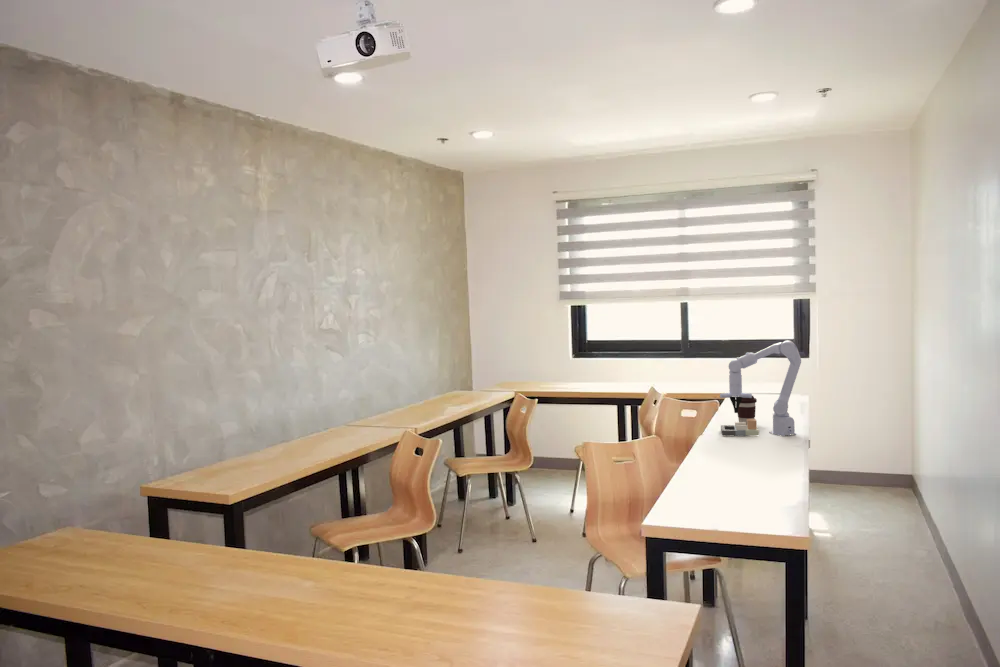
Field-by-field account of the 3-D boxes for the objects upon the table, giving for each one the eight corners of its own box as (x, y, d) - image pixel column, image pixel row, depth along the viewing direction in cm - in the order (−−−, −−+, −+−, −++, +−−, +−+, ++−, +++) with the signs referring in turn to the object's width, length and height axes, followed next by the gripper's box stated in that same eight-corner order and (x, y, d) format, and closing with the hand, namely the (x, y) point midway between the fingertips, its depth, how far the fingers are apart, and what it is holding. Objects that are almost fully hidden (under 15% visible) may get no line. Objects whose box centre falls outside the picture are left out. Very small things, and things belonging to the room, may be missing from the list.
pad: (756, 430, 356) (756, 425, 356) (758, 435, 345) (758, 430, 345) (743, 430, 357) (743, 425, 357) (745, 435, 347) (745, 430, 346)
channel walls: (745, 426, 356) (745, 422, 356) (747, 430, 347) (747, 425, 347) (735, 426, 357) (734, 422, 357) (736, 429, 348) (736, 425, 348)
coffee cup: (753, 427, 363) (752, 397, 362) (733, 426, 369) (732, 396, 368) (759, 424, 371) (759, 394, 370) (740, 422, 377) (739, 393, 376)
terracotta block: (755, 427, 353) (755, 418, 353) (756, 429, 348) (756, 420, 348) (746, 427, 354) (746, 418, 354) (747, 429, 349) (747, 420, 349)
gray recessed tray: (743, 430, 358) (743, 425, 358) (745, 436, 346) (745, 430, 346) (720, 430, 361) (720, 425, 361) (722, 435, 348) (722, 430, 348)
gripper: (720, 385, 352) (720, 414, 353) (752, 385, 348) (752, 414, 349) (719, 383, 359) (720, 411, 360) (750, 383, 355) (751, 411, 356)
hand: (736, 412), depth 355 cm, fingers closed
